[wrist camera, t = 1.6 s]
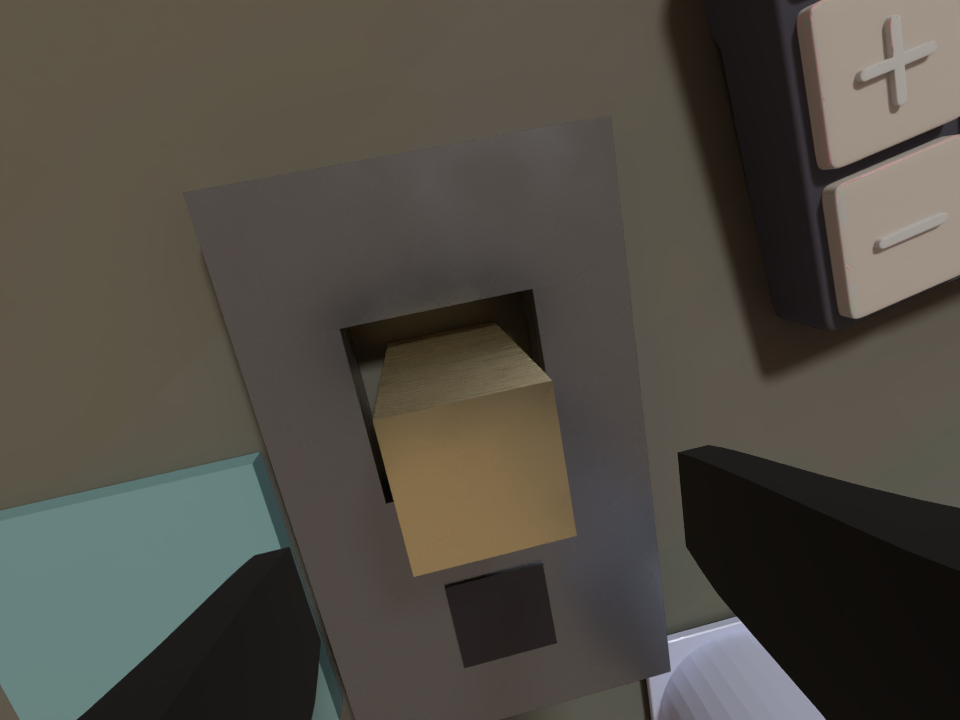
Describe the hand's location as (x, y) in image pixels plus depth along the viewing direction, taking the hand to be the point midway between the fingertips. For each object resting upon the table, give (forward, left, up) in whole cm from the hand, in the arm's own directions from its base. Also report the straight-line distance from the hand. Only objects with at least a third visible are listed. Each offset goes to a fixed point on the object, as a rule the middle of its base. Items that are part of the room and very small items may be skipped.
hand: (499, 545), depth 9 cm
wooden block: (0, 0, -10) cm, 10 cm away
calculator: (+8, -17, -11) cm, 22 cm away
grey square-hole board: (-3, 0, -10) cm, 11 cm away
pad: (-7, +13, -10) cm, 18 cm away
